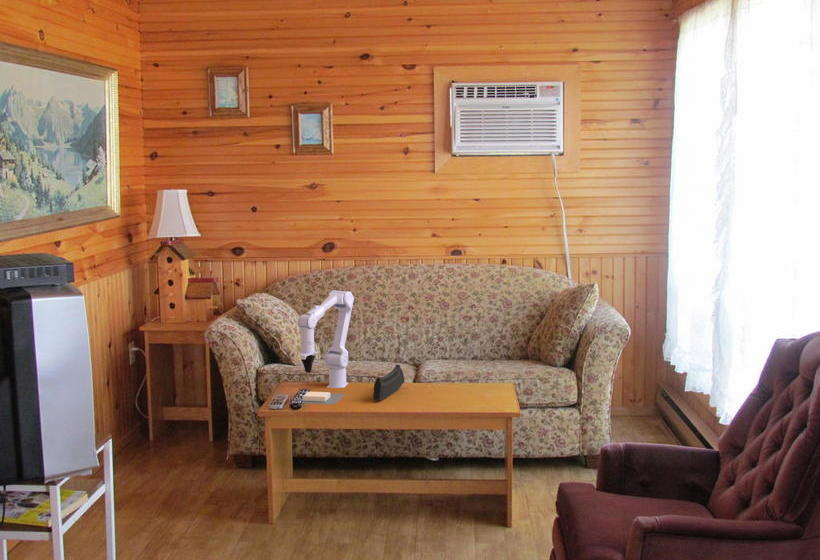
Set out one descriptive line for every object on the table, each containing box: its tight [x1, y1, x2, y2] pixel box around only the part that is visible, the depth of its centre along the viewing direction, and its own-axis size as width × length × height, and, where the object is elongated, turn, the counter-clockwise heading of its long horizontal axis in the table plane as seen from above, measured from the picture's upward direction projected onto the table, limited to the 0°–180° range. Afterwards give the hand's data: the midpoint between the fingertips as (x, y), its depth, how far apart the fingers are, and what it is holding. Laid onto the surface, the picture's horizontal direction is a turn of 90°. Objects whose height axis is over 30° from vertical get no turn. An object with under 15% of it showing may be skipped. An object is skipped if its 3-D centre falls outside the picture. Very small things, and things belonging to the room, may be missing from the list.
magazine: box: [372, 364, 405, 401], centre depth 404 cm, size 17×3×30 cm
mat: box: [289, 393, 346, 406], centre depth 399 cm, size 18×20×1 cm
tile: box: [303, 391, 331, 402], centre depth 396 cm, size 2×10×8 cm
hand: (308, 372), depth 405 cm, fingers closed
